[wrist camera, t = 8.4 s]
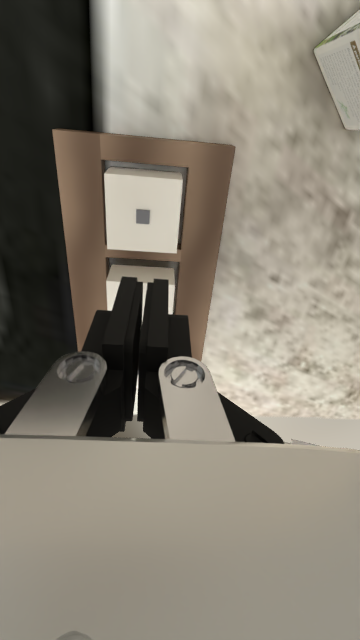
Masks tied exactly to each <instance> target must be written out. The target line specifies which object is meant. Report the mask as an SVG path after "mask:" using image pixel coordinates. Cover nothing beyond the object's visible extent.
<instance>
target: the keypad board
mask: <svg viewBox="0 0 360 640" xmlns="http://www.w3.org/2000/svg"><path fill="white" fill-rule="evenodd" d="M52 131H53V140H54V148H55V157H56V165H57V174H58V182H59V191H60V200H61V208H62V217H63V225H64V234H65V242H66V251H67V259H68V268H69V277H70V285H71V294H72V302H73V311H74V319H75V328H76V337H77V345H78V352H80V351H81V350H82V347H83V345H84V342H85V339H86V337H87V334H88V331H89V329H90V326H91V323H92V321H93V318H94V315H95V313H96V311H97V310H107V289H106V280H107V277H108V274H109V257H111V258H127V259H143V260H159V261H175V262H179V266H178V278H177V289H176V300H175V311H174V315H188V319H189V331H190V342H191V353H192V358H194V359H197V360H199V361H200V362H201V359H202V352H203V346H204V340H205V334H206V327H207V321H208V315H209V309H210V302H211V296H212V290H213V284H214V278H215V271H216V265H217V259H218V253H219V246H220V240H221V234H222V228H223V221H224V215H225V209H226V203H227V196H228V190H229V184H230V178H231V171H232V165H233V159H234V153H235V146H232V145H226V144H216V143H205V142H195V141H184V140H174V139H163V138H153V137H142V136H132V135H122V134H111V133H101V132H90V131H80V130H69V129H52ZM105 160H110V161H122V162H133V163H144V164H156V165H167V166H178V167H187V177H186V188H185V199H184V211H183V222H182V233H181V244H180V243H177V254H176V253H160V252H145V251H129V250H114V249H107V231H106V207H105V184H104V173H105Z"/></svg>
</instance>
